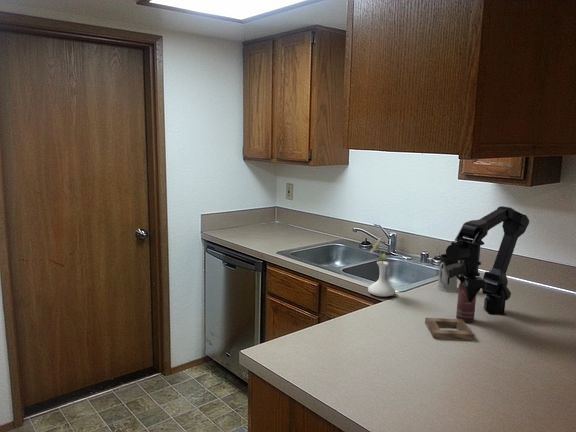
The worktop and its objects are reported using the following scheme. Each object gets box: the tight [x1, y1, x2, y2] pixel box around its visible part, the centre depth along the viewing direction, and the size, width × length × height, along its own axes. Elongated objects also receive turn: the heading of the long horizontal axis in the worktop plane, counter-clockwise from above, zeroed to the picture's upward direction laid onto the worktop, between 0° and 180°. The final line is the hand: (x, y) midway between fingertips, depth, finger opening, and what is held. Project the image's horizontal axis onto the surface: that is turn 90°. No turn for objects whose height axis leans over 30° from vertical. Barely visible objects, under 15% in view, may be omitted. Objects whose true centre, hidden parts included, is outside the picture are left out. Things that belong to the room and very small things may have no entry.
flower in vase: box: [367, 237, 396, 297], centre depth 193 cm, size 13×11×25 cm
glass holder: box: [436, 253, 459, 293], centre depth 201 cm, size 9×14×15 cm, turn 140°
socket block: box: [424, 317, 475, 341], centre depth 159 cm, size 13×13×2 cm
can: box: [455, 281, 478, 324], centre depth 168 cm, size 6×6×14 cm
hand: (467, 299), depth 168 cm, fingers closed on can, 5 cm apart
